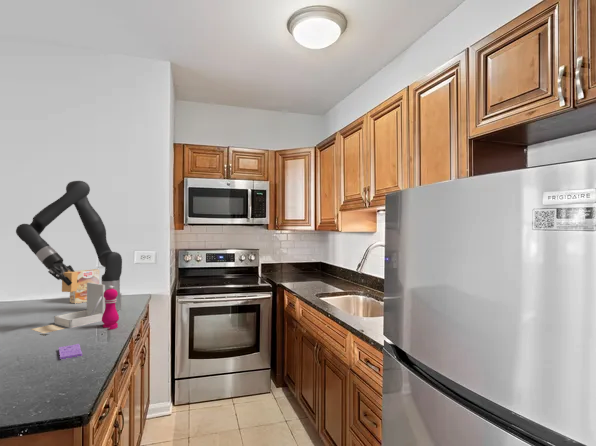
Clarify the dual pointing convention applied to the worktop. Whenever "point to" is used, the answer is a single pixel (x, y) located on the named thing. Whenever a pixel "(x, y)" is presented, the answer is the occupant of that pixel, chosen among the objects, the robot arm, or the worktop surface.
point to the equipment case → (93, 309)
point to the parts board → (47, 329)
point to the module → (73, 279)
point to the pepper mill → (110, 309)
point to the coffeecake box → (84, 285)
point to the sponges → (70, 351)
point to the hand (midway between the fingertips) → (73, 283)
